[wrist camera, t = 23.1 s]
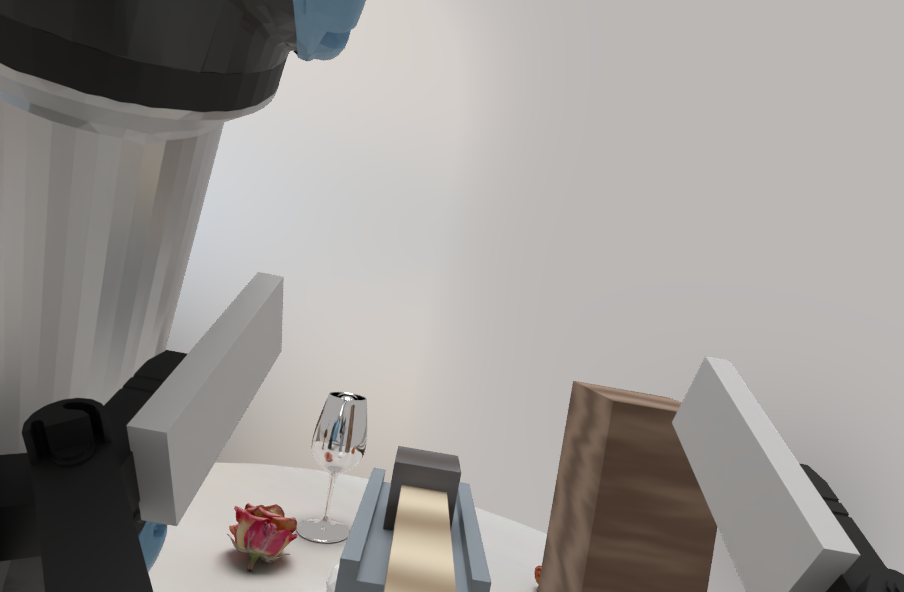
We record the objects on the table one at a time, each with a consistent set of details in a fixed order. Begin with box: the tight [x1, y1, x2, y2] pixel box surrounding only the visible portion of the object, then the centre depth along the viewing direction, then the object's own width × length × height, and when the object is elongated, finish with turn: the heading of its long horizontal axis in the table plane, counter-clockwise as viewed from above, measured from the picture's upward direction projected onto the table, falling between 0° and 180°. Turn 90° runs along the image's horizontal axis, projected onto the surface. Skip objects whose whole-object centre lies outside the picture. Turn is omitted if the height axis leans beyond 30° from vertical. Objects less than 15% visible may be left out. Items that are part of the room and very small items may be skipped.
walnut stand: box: [538, 381, 717, 592], centre depth 48 cm, size 12×10×30 cm
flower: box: [227, 503, 297, 571], centre depth 66 cm, size 9×9×7 cm
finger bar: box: [383, 446, 461, 592], centre depth 29 cm, size 20×4×4 cm, turn 2°
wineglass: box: [297, 392, 367, 543], centre depth 78 cm, size 8×8×20 cm
